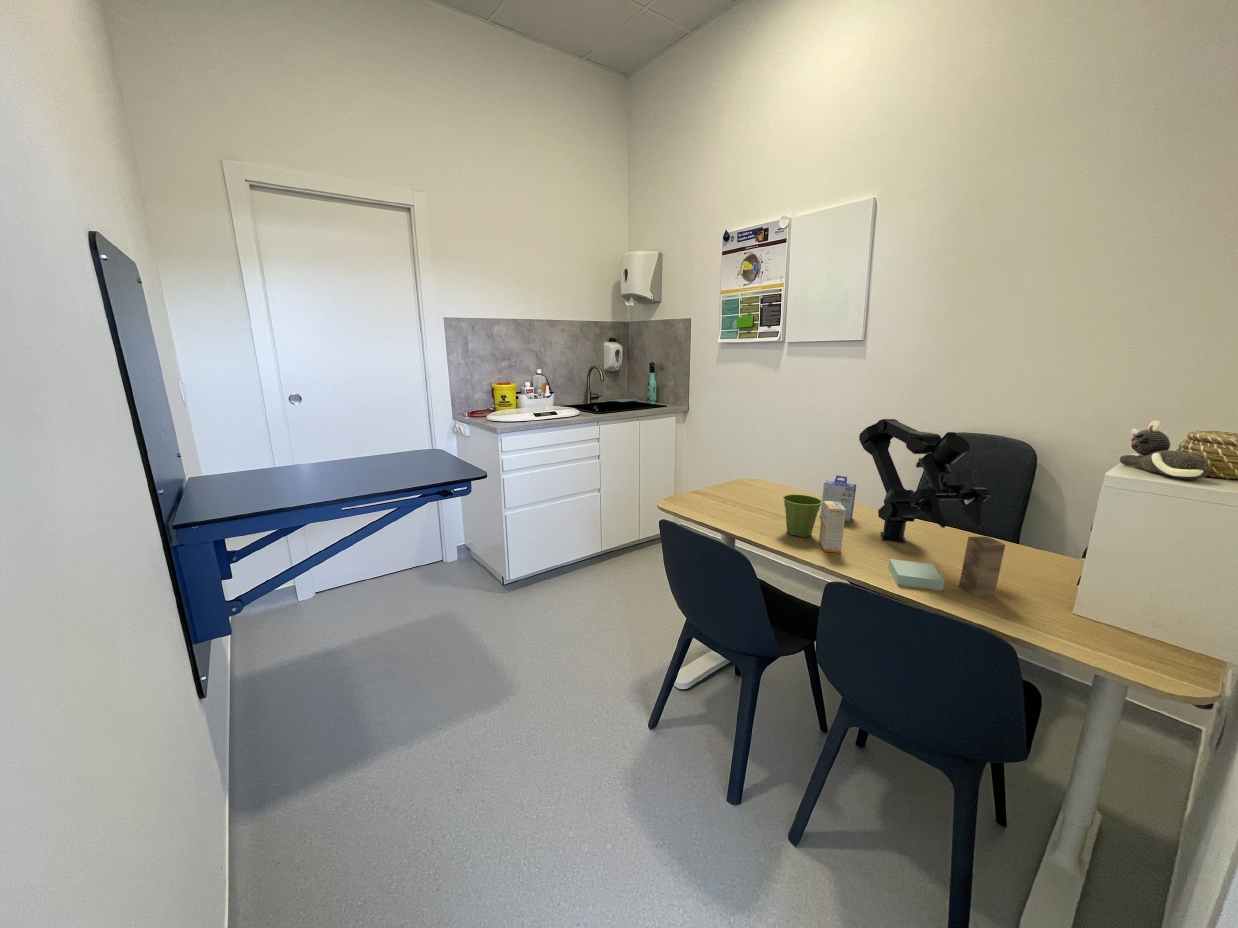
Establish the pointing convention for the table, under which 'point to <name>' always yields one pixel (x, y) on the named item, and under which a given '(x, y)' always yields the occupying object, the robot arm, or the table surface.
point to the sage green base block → (916, 574)
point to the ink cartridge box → (840, 494)
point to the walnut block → (981, 566)
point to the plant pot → (801, 513)
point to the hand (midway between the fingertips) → (961, 526)
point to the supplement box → (832, 526)
